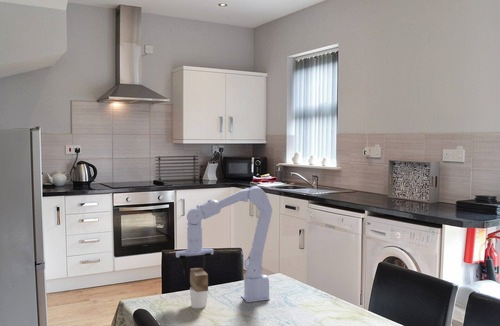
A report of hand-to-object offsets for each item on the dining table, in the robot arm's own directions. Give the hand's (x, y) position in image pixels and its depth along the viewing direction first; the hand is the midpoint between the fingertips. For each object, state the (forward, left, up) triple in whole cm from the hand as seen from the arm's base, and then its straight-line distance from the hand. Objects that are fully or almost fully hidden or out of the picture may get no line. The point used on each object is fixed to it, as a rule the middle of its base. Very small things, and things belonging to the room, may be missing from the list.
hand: (195, 273), depth 174 cm
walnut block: (0, +6, -3) cm, 7 cm away
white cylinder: (0, +6, -11) cm, 12 cm away
